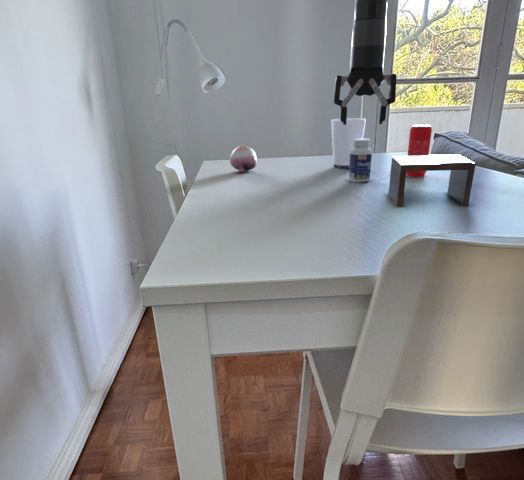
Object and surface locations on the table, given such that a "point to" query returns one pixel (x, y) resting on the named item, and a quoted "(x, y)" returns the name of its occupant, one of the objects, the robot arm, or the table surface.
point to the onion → (243, 158)
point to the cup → (345, 139)
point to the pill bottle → (360, 161)
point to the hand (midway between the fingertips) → (362, 124)
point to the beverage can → (419, 145)
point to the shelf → (456, 163)
